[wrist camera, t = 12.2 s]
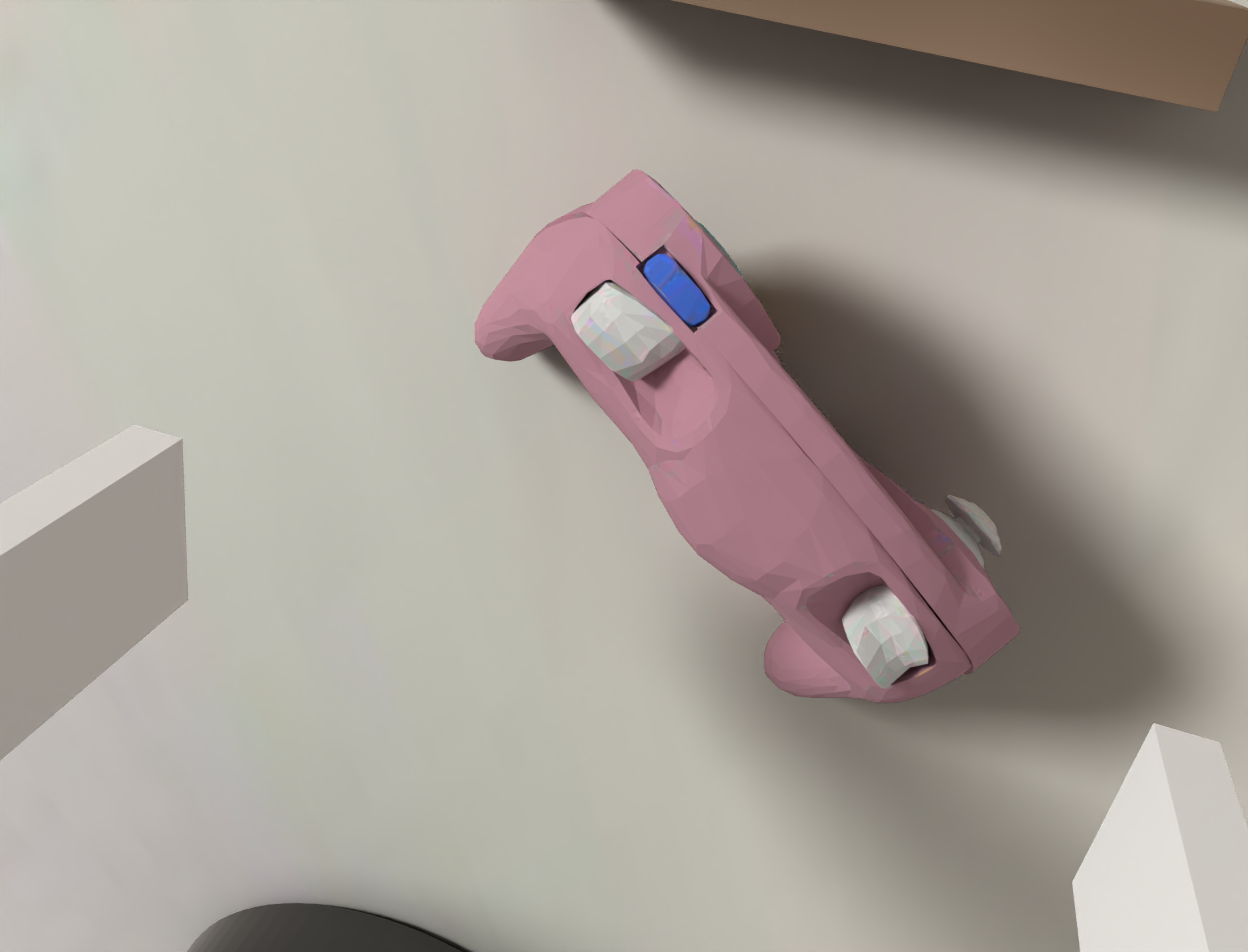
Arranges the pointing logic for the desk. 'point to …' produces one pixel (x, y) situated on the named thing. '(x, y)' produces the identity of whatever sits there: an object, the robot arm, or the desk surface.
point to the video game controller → (751, 452)
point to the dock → (1047, 37)
